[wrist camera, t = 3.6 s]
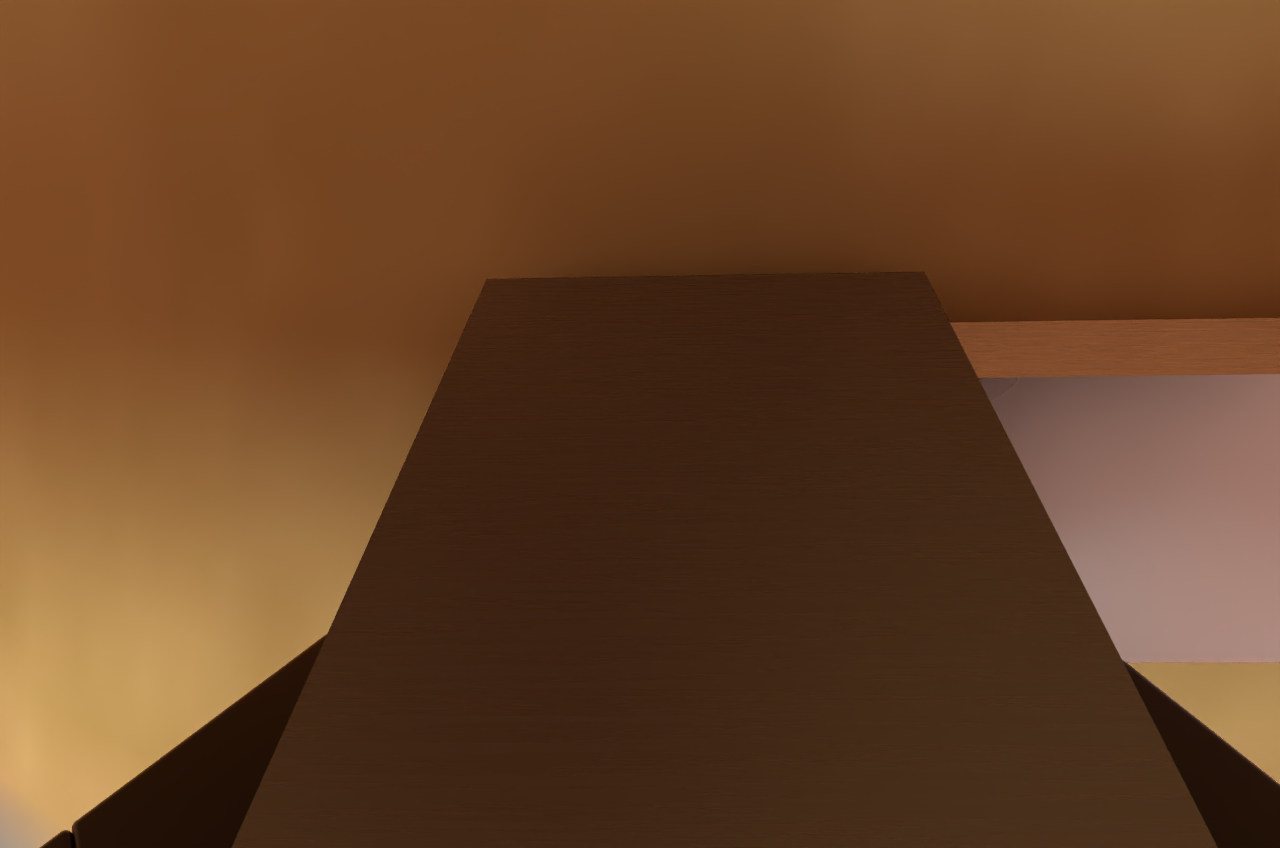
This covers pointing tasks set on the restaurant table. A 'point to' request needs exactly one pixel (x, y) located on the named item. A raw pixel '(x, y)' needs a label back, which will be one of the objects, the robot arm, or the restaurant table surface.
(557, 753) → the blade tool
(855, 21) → the restaurant table surface
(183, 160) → the restaurant table surface
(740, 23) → the restaurant table surface
